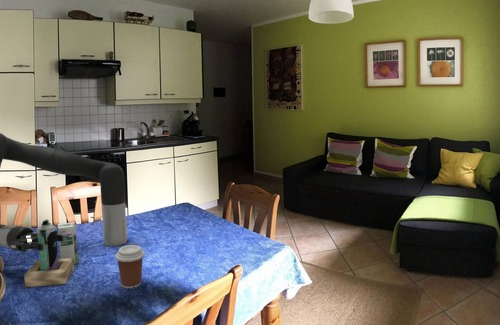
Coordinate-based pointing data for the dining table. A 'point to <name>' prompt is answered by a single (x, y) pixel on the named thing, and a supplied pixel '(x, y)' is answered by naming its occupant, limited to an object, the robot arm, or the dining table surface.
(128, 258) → the coffee cup
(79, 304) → the dining table surface
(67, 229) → the syrup box
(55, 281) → the collar
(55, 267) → the spray can
